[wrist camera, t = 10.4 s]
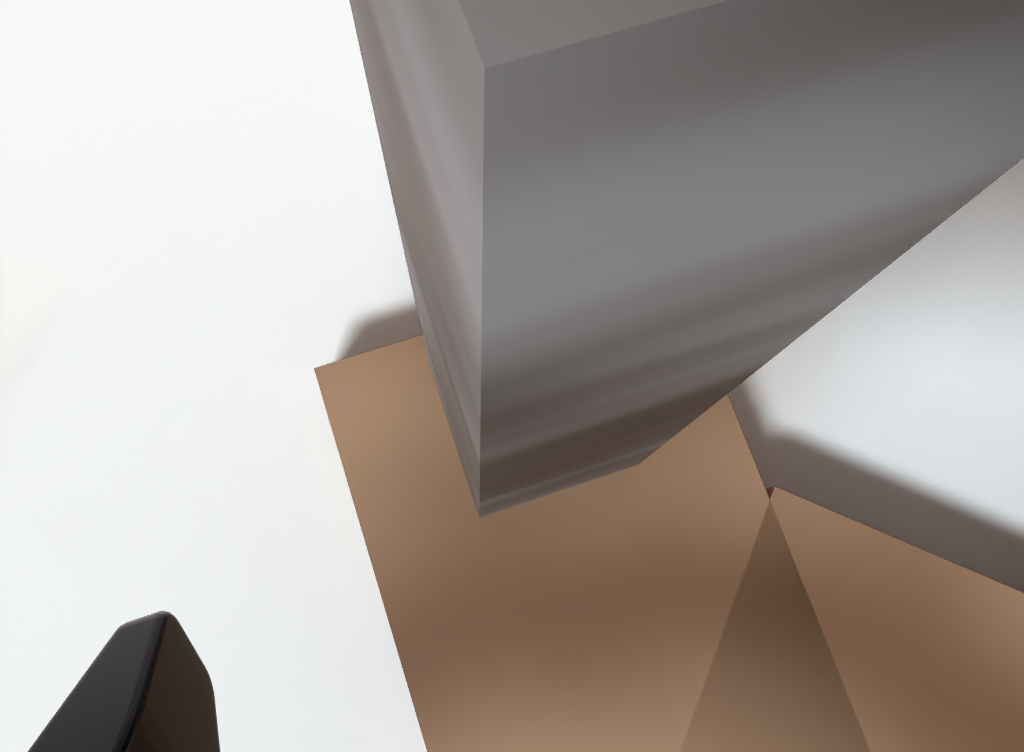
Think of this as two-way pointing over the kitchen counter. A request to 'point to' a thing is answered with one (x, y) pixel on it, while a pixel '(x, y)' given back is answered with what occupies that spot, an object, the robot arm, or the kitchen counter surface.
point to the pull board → (661, 370)
